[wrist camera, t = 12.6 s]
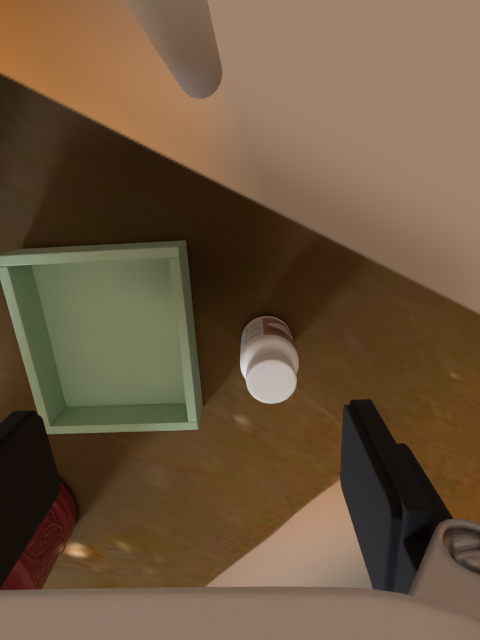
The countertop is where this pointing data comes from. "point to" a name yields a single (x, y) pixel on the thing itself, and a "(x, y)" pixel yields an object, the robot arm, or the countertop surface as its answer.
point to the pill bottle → (269, 359)
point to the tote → (106, 335)
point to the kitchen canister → (44, 546)
